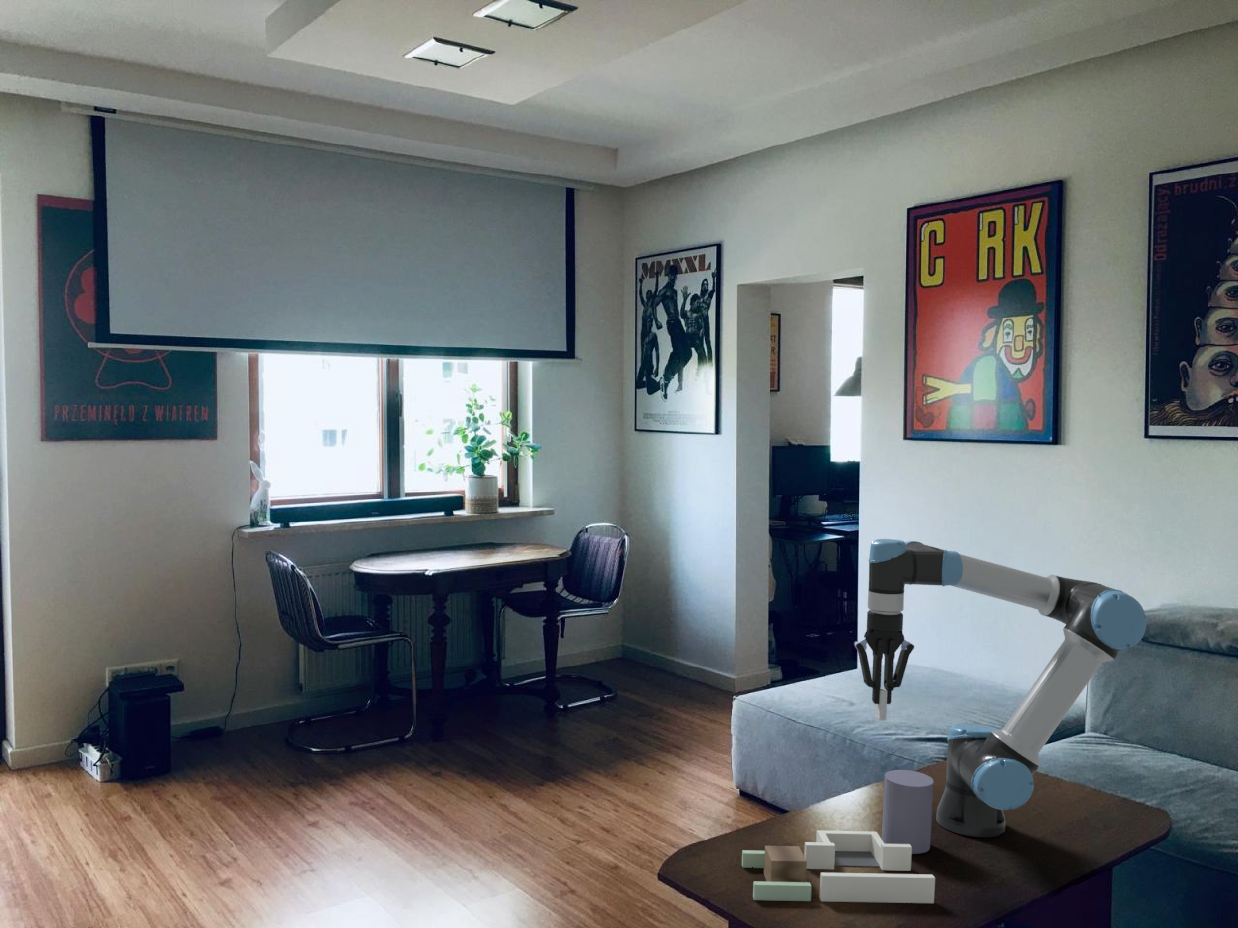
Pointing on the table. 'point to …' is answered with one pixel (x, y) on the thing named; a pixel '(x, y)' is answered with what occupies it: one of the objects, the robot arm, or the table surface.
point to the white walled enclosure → (866, 853)
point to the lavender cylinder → (907, 809)
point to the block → (784, 864)
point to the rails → (774, 889)
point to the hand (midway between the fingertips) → (880, 718)
